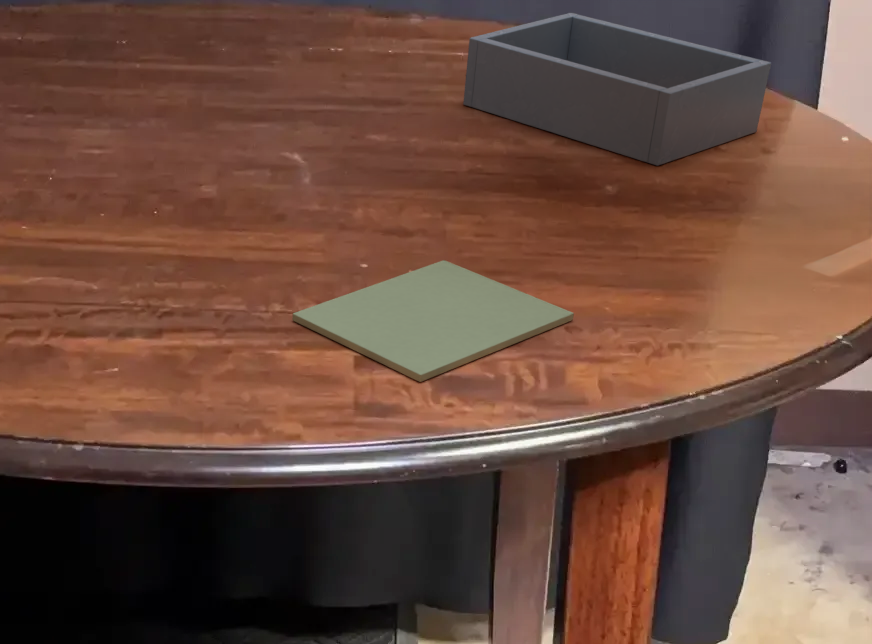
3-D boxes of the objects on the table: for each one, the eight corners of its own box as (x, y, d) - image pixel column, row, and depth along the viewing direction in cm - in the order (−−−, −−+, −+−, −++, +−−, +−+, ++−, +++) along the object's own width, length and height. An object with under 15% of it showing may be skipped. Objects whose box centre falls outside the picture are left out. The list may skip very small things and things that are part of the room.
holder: (757, 132, 100) (771, 62, 98) (657, 166, 95) (670, 93, 92) (562, 76, 111) (570, 12, 108) (462, 104, 105) (469, 37, 103)
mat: (573, 320, 76) (574, 312, 76) (420, 382, 71) (420, 374, 70) (443, 266, 82) (443, 259, 82) (292, 320, 76) (292, 313, 76)
